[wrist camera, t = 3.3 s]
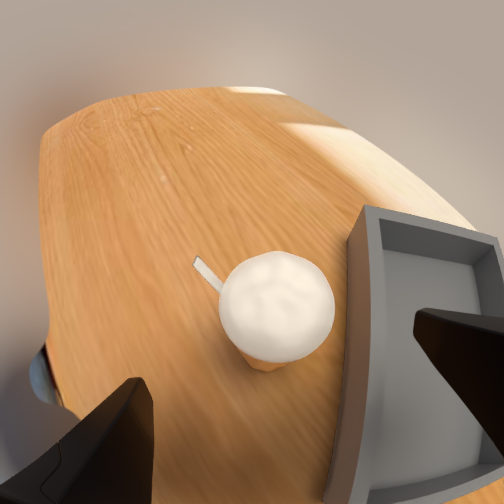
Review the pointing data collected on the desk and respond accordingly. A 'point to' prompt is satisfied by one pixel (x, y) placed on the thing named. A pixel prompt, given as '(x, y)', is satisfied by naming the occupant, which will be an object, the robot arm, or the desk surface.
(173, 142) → the desk surface
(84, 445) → the robot arm
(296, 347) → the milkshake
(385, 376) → the tray
